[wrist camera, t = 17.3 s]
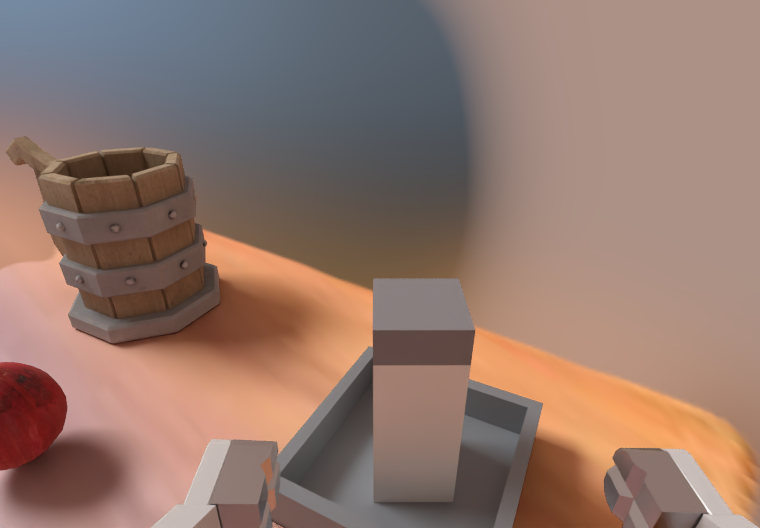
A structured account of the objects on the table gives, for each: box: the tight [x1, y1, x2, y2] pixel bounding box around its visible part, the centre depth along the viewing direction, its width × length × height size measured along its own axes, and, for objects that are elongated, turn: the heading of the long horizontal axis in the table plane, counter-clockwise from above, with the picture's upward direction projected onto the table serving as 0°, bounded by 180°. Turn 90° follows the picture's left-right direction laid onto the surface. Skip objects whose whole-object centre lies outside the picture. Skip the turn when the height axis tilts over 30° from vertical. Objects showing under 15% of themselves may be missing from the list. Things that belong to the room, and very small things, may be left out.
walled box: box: [271, 347, 543, 528], centre depth 27 cm, size 13×13×3 cm
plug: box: [373, 279, 475, 502], centre depth 25 cm, size 4×4×12 cm
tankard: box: [6, 137, 220, 344], centre depth 42 cm, size 20×13×15 cm, turn 64°
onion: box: [0, 362, 67, 470], centre depth 27 cm, size 6×6×8 cm
